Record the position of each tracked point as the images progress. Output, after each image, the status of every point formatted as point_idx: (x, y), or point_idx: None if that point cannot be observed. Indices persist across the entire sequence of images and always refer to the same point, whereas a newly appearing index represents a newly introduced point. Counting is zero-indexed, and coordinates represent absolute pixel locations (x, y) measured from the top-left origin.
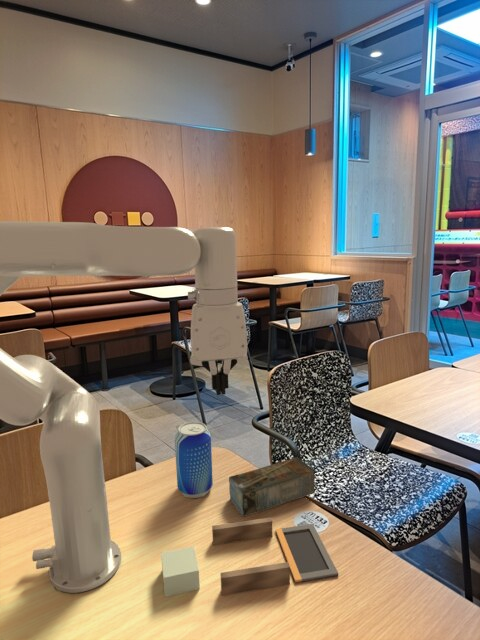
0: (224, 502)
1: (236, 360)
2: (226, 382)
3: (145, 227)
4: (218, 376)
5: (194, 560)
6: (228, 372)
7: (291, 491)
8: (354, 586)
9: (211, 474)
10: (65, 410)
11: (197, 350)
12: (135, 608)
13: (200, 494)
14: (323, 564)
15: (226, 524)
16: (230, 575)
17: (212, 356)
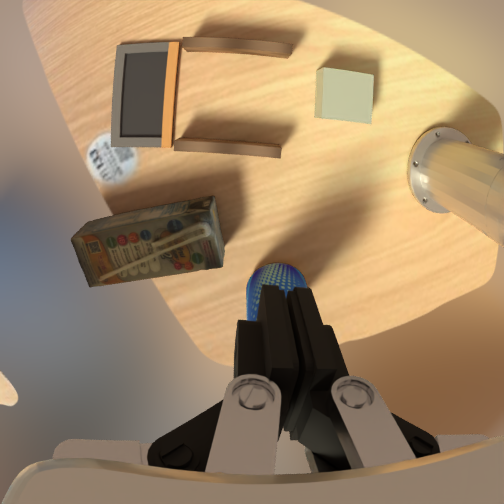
0: (236, 240)
1: (151, 463)
2: (250, 340)
3: None
4: (319, 362)
5: (326, 88)
6: (238, 382)
7: (120, 218)
8: (108, 28)
9: (250, 289)
10: None
11: None
12: (397, 76)
13: (273, 263)
14: (128, 65)
15: (255, 154)
16: (278, 44)
17: (453, 487)
